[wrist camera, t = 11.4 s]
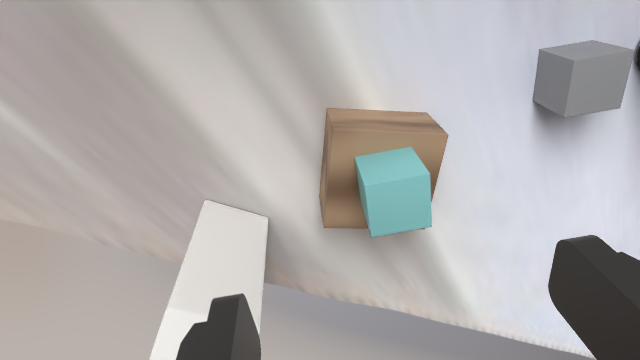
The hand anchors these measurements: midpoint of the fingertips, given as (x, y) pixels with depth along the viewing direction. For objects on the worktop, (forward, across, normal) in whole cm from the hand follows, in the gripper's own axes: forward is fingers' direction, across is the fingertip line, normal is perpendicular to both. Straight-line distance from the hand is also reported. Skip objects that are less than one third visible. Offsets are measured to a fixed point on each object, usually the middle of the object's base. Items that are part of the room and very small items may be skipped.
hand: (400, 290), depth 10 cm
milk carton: (+28, +13, +17) cm, 35 cm away
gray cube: (+28, -23, +5) cm, 37 cm away
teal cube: (+22, -4, +10) cm, 25 cm away
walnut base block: (+28, -4, +11) cm, 31 cm away
